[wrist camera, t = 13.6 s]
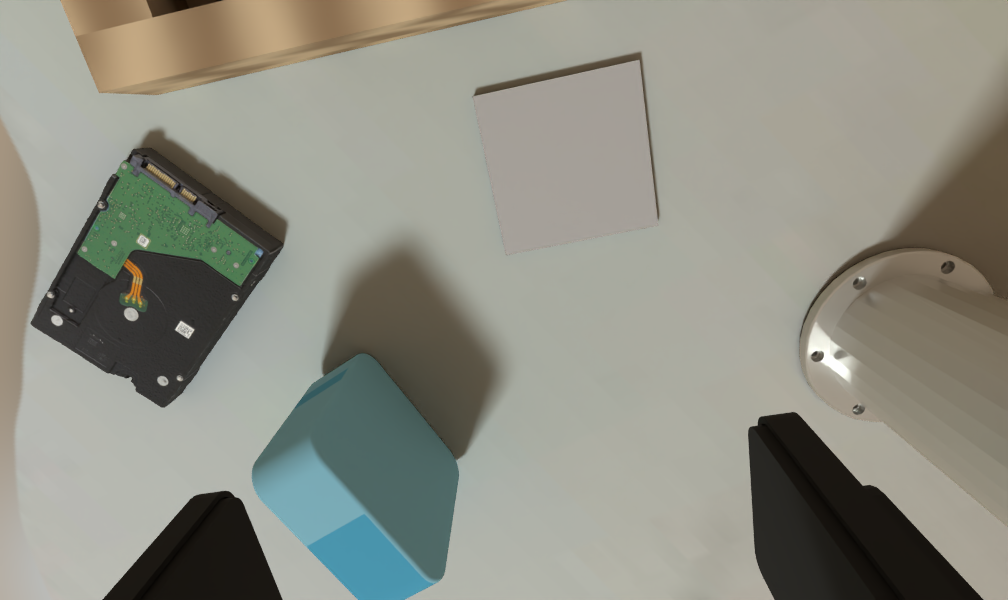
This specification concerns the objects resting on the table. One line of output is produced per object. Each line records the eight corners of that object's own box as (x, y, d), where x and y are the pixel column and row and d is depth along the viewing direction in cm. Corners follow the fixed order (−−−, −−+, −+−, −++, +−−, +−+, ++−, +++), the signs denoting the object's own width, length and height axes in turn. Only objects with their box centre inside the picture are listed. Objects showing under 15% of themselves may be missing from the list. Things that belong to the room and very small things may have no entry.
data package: (316, 375, 40) (239, 481, 29) (365, 344, 39) (304, 440, 28) (415, 490, 43) (380, 626, 32) (462, 463, 42) (443, 593, 31)
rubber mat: (637, 60, 33) (639, 59, 32) (656, 223, 36) (658, 225, 35) (473, 96, 33) (472, 96, 33) (506, 253, 37) (505, 255, 36)
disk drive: (188, 391, 41) (289, 241, 37) (166, 411, 39) (271, 252, 34) (59, 311, 39) (149, 142, 35) (26, 326, 37) (119, 146, 32)
